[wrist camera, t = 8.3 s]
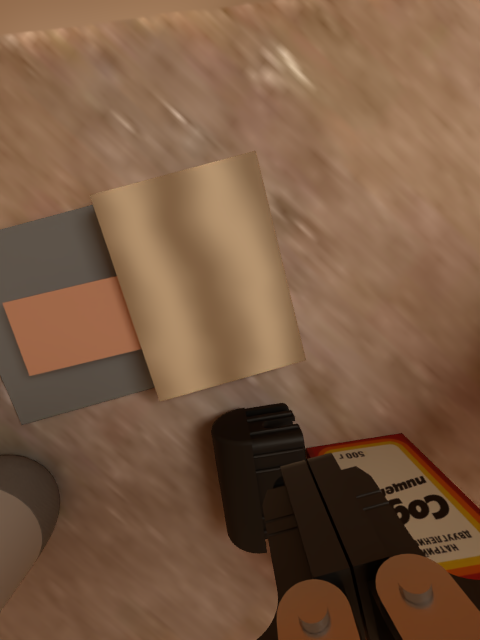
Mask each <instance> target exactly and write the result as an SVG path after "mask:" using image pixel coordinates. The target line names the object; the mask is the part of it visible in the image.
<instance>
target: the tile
mask: <svg viewBox="0 0 480 640" xmlns="http://www.w3.org/2000/svg"><path fill="white" fill-rule="evenodd" d="M3 306H4V309H5V311H6V314H7V317H8V319H9V322H10V325H11V327H12V330H13V333H14V336H15V338H16V341H17V344H18V346H19V349H20V352H21V354H22V357H23V360H24V362H25V365H26V368H27V370H28V373H29V376H32V375H36V374H41V373H45V372H49V371H53V370H57V369H61V368H65V367H70V366H74V365H78V364H82V363H86V362H90V361H94V360H98V359H103V358H107V357H111V356H115V355H119V354H123V353H127V352H131V351H136V350H140V349H142V348H141V345H140V342H139V339H138V336H137V333H136V331H135V328H134V325H133V322H132V319H131V316H130V313H129V310H128V307H127V304H126V301H125V298H124V295H123V292H122V289H121V286H120V283H119V280H118V277H117V276H113V277H108V278H104V279H100V280H96V281H91V282H87V283H83V284H79V285H74V286H70V287H66V288H62V289H57V290H53V291H49V292H45V293H40V294H36V295H32V296H28V297H23V298H19V299H15V300H12V301H8V302H4V303H3Z"/></svg>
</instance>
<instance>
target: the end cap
mask: <svg viewBox="0 0 480 640" xmlns="http://www.w3.org/2000/svg"><path fill="white" fill-rule="evenodd" d="M292 421H295V417H294V415H293V413H292V411H291V410H289V409H288V406H287V405H286V404H284V403H279V404H272V405H266V406H260V407H253V408H247V409H245V408H241V409H237V410H233V411H231V412H228V413H226V414H224V415H222V416H221V417H220V418H218V419H217V420H216V421H215V422H214V424H213V426H212V429H211V433H212V440H213V446H214V452H215V458H216V464H217V470H218V477H219V483H220V489H221V495H222V501H223V508H224V514H225V520H226V526H227V532H228V536H229V538H230V540H231V541H232V542H233V543H234V545H236V546H237V547H238V548H240V549H242V550H244V551H247V552H251V553H267V550H266V542H265V539H268V535H267V530H266V523H265V518H264V513H263V507H262V504H263V501H264V498H265V495H266V492H267V490H270V489H274V488H277V487H281V486H285V483H284V479H283V475H282V472H281V468H280V466H284V465H288V464H291V463H295V462H299V461H302V460H305V461H306V455H305V446H304V438H303V434H302V431H301V429H300V427H299V425H298V424H293V422H292Z"/></svg>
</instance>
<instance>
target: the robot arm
mask: <svg viewBox="0 0 480 640" xmlns="http://www.w3.org/2000/svg"><path fill="white" fill-rule="evenodd" d="M280 468H281V472H282V475H283V479H284V483H285V486H281V487H277V488H274V489H270V490H267V492H266V495H265V498H264V501H263V504H262V507H263V513H264V518H265V523H266V530H267V535H268V541H269V546H270V552H271V557H272V563H273V569H274V574H275V580H276V585H277V591H278V606H277V611H276V614H275V616H274V619H273V621H272V623H271V624H270V626H269V627H268V629H267V630H266V631H265V632H264V633H263V635H262V636H261V637H259V638H258V639H257V640H366V639H367V640H480V580H475V579H467V578H463V577H459V576H456V575H453V574H450V573H448V572H447V571H446V570H445V569H444V568H443V567H442V566H441V565H439V564H438V563H436V562H435V561H433V560H431V559H429V558H427V557H426V556H425V555H424V554H423V552H422V551H421V549H420V548H419V546H418V545H417V543H416V542H415V541H414V539H413V538H412V536H411V535H410V533H409V532H408V530H407V529H406V527H405V526H404V524H403V523H402V521H401V520H400V518H399V517H398V515H397V514H396V512H395V511H394V509H393V508H392V506H391V505H389V502H388V500H387V499H386V497H385V496H384V494H383V493H381V490H380V488H379V487H378V485H377V484H376V482H375V481H374V479H373V478H372V476H371V475H369V474H368V473H366V472H364V471H363V470H361V469H360V468H358V467H357V466H354V467H350V468H347V469H343V470H341V468H340V467H339V465H338V463H337V461H336V459H335V458H334V456H333V454H332V453H328V454H324V455H320V456H317V457H313V458H309V459H307V464H306V461H305V460H302V461H299V462H295V463H291V464H288V465H284V466H280Z"/></svg>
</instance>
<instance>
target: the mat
mask: <svg viewBox="0 0 480 640" xmlns="http://www.w3.org/2000/svg"><path fill="white" fill-rule="evenodd" d="M113 276H117V275H116V272H115V269H114V266H113V263H112V260H111V257H110V254H109V251H108V248H107V245H106V242H105V239H104V236H103V233H102V230H101V227H100V224H99V221H98V219H97V216H96V213H95V210H94V207H93V205H91V206H87V207H83V208H79V209H76V210H72V211H68V212H65V213H61V214H57V215H53V216H50V217H46V218H42V219H39V220H35V221H31V222H27V223H24V224H20V225H16V226H13V227H9V228H5V229H2V230H0V376H1V378H2V380H3V383H4V385H5V387H6V390H7V392H8V394H9V396H10V399H11V401H12V403H13V406H14V408H15V410H16V413H17V415H18V417H19V420H20V422H21V424H22V425H24V424H27V423H31V422H34V421H38V420H41V419H45V418H48V417H52V416H55V415H59V414H62V413H66V412H70V411H73V410H77V409H80V408H84V407H87V406H91V405H94V404H98V403H101V402H105V401H109V400H112V399H116V398H119V397H123V396H126V395H130V394H133V393H137V392H140V391H144V390H148V389H151V388H154V387H155V386H154V384H153V381H152V378H151V375H150V372H149V369H148V366H147V363H146V360H145V357H144V354H143V351H142V349H140V350H136V351H131V352H127V353H123V354H119V355H115V356H111V357H107V358H103V359H98V360H94V361H90V362H86V363H82V364H78V365H74V366H70V367H65V368H61V369H57V370H53V371H49V372H45V373H41V374H36V375H32V376H29V373H28V370H27V368H26V365H25V362H24V360H23V357H22V354H21V352H20V349H19V346H18V344H17V341H16V338H15V336H14V333H13V330H12V327H11V325H10V322H9V319H8V317H7V314H6V311H5V309H4V306H3V303H4V302H8V301H12V300H15V299H19V298H23V297H28V296H32V295H36V294H40V293H45V292H49V291H53V290H57V289H62V288H66V287H70V286H74V285H79V284H83V283H87V282H91V281H96V280H100V279H104V278H108V277H113Z"/></svg>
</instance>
